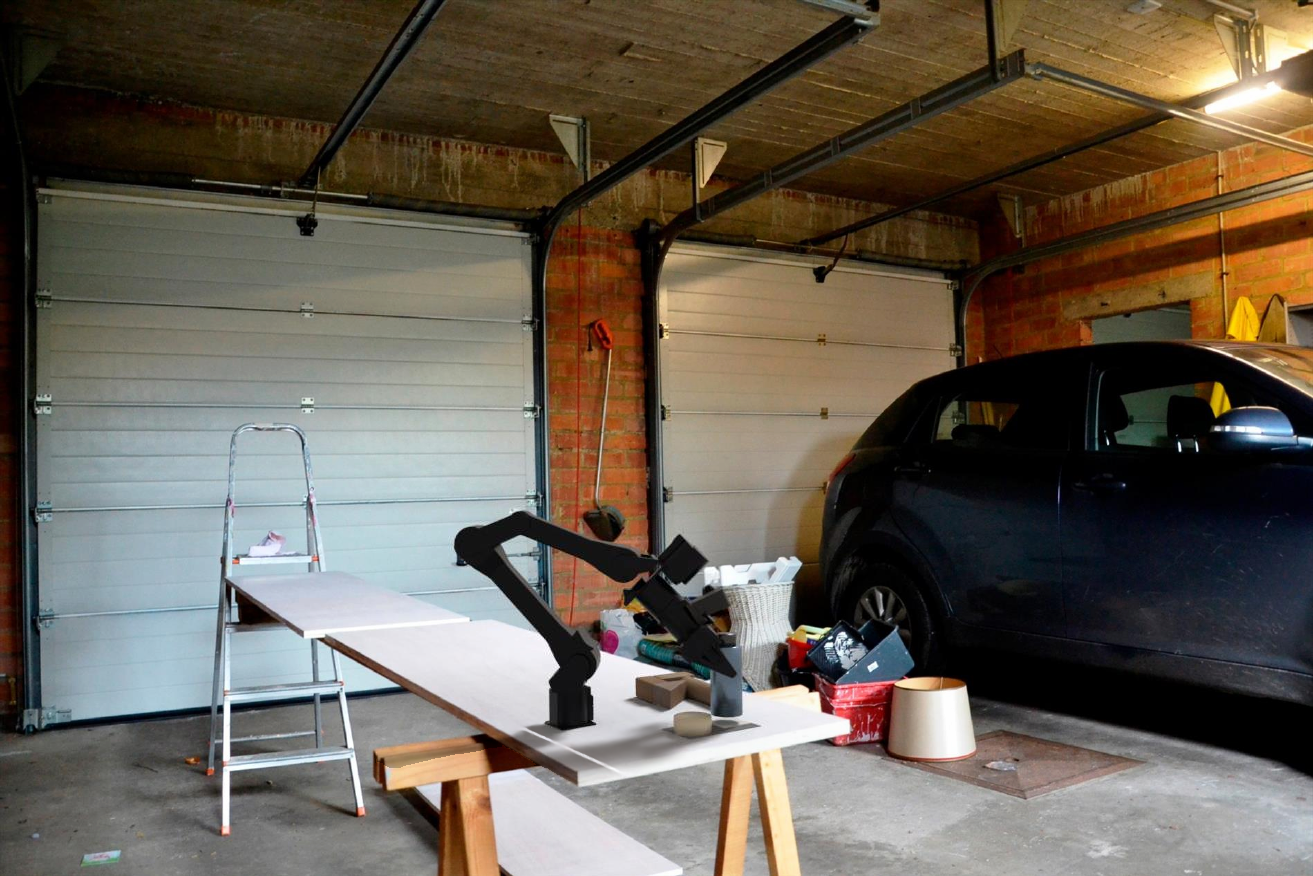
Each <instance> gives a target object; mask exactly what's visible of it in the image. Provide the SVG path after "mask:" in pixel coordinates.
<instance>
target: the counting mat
mask: <svg viewBox="0 0 1313 876" xmlns="http://www.w3.org/2000/svg"><path fill="white" fill-rule="evenodd" d="M759 727H761V725H760V724H757V723H753V722H749V721H747V720H743V719H741V718H739V717H738V718H737V717H729V718H726V717H718V718H714V719H712V733H710V734H708V735H704V736H695V737H690V736H680V735H677V734H675V733H674V726H671V727H665V728H661V730H662V731H664V732H668V733H669V734H670V733H671V734H673V735H676V736H678V737H682V738H684V739H687V740H695V739H700V738H705V737H711V736H716V735H723V734H728V733H732V732H733V733H734V732H739V731H744V730H748V729H754V728H759Z"/></svg>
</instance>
